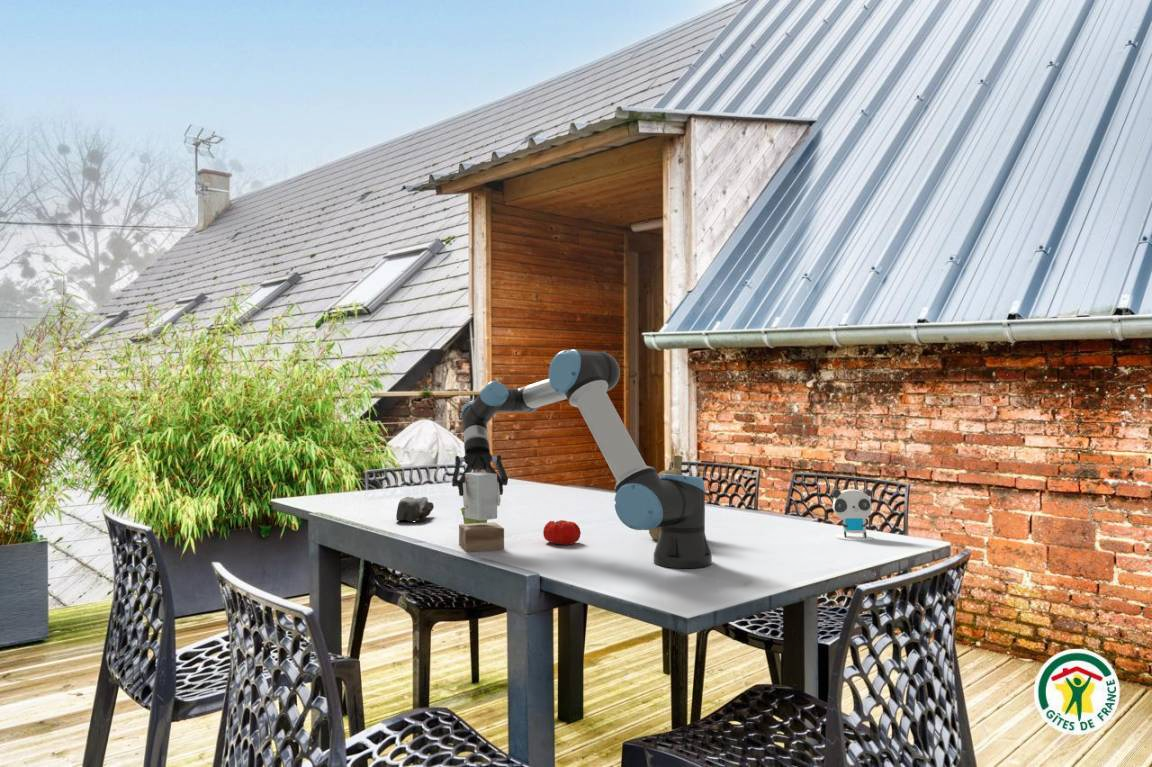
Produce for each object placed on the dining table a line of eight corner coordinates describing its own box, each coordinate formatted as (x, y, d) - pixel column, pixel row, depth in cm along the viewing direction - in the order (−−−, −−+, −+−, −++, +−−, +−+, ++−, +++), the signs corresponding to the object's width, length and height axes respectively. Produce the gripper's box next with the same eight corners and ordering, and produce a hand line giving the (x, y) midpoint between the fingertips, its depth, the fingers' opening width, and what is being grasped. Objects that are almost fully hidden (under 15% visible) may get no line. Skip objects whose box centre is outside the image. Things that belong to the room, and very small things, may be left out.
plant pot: (496, 535, 257) (496, 507, 257) (477, 539, 249) (477, 511, 249) (473, 532, 262) (473, 505, 262) (454, 537, 254) (454, 509, 254)
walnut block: (504, 549, 233) (504, 527, 233) (465, 551, 230) (465, 529, 230) (495, 542, 243) (495, 522, 244) (459, 545, 240) (459, 523, 240)
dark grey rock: (427, 524, 279) (427, 501, 279) (394, 524, 279) (394, 501, 279) (435, 516, 297) (435, 494, 298) (404, 516, 297) (404, 494, 297)
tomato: (560, 539, 250) (560, 517, 250) (586, 543, 242) (586, 521, 243) (536, 543, 243) (536, 521, 244) (562, 548, 236) (562, 525, 236)
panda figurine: (835, 540, 247) (834, 490, 248) (829, 534, 258) (829, 486, 259) (876, 541, 245) (876, 491, 246) (868, 535, 257) (868, 487, 257)
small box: (497, 518, 236) (497, 473, 236) (479, 521, 232) (479, 475, 232) (482, 515, 242) (482, 471, 242) (464, 517, 238) (464, 472, 238)
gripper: (510, 451, 254) (518, 510, 239) (440, 452, 250) (443, 512, 234) (512, 435, 249) (521, 494, 234) (441, 436, 244) (444, 496, 229)
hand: (482, 503), depth 234 cm, fingers closed on small box, 9 cm apart
